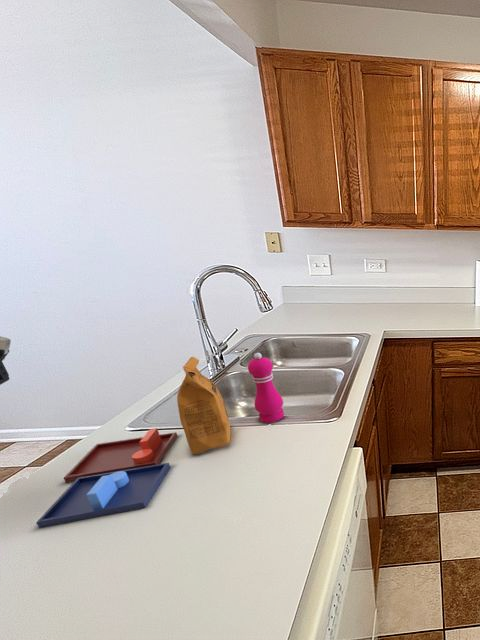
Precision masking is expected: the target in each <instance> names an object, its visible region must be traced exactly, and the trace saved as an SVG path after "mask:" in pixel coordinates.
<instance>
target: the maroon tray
mask: <svg viewBox="0 0 480 640" xmlns="http://www.w3.org/2000/svg"><path fill="white" fill-rule="evenodd" d="M159 435H160V438H161V440H162V442H161V443H160V445H159V446H158V447H157V449H156V450H155V452H154V453H153V454H154V457H155V458H154V459H153V460H152V461H151V462H149V463H143V464H137V465H135V463H134V461H133V459H132V455H133V454H134V453H136V452H138V451H140V450H142V448H141V445H140V443H139V442H140V441H141V439H142V438H143V437H144V436H141V437H135V438H134V437H133V438H128V439H121V440H115V441H109V442H108V441H107V442H100V443H96V444H95V445H94V446H93V447H92V448H91V449H90V450H89V451H88V452H87V453H86V454H85V456H83V457H82V458H81V459H80V461H78V462H77V464H75V465H74V466H73V467H72V468H71V469H70V471H69V472H67V474H66V475H65V476H64V477H63V480H64V483H65V484H67V483H73V482H74V481H75V480H76V479H77V478H80V477H86V476H92V475H98V474H104V473H110V472H116V471H122V470H128V469H134V468H140V467H146V466H152V465H158V464H161V462H162V461H163V460H164V458H165V457H166V455H167V454H168V452H169V450H170V449H171V447H172V445H174V443H175V442H176V440H177V438H179V436H178V433H177V432H176V431H174V432H168V433H161V434H159Z"/></svg>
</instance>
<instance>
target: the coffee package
mask: <svg viewBox="0 0 480 640" xmlns="http://www.w3.org/2000/svg"><path fill="white" fill-rule="evenodd" d="M199 362H200V360H199V358H196V356H191V357H189V359H188V360H187V361H186V363H185V364H184V365H183V366H182V369H183V371H184V374H185V376H184V379H183V381H182V382H181V385H180V386H179V388H178V391H177V396H176V398H177V399H176V400H177V401H176V402H177V408H178V415H179V420H180V424H181V426H182V429H183V432H184V435H185V439H186V441H187V445H188V448H189V451H190V453H191V454H192V455H199V454H200V453H203V452H206V451H208V450H211V449H217V448H221V447H224V446H227V445H228V444H230V442H231V424H230V419H229V414H228V411H227V408H226V404H225V401H224V399H223V396H222V394H221V392H220V390H219V389H218V387H217V385H216V384H215V383H214V382H213V381H212V380H211V379H210V378H208V377H207V376H205V375H203V374H202V373H201V371H200V370H199V369H198V368H197V366H198V365H199Z"/></svg>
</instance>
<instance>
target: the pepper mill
mask: <svg viewBox="0 0 480 640" xmlns="http://www.w3.org/2000/svg"><path fill="white" fill-rule="evenodd" d="M253 357H254V358H252V359H251V360H250V361H249V362H248V364H247V371H248V373H249V374H250V375H251V379H252V382H253V383H254V384H255V386H256V394H255V398H254V409H255V410H256V412H258V417H259V421H260V422H261V423H264V424H271V423H274V422H278V421H280V420H282V418H284V416H285V411H284V409H283V408H282V407H283V406H284V399H283V397H282V395H281V394H280V393H279V391H278V390H277V389H276V387H275V385H274V382H273V378H274V374H273V372H272V371H273V369H274V366H273V365H274V364H273V362H272V360H271V359H270V358H268V357H263V356H262V354H261V353H260V352H256V353H254V355H253Z"/></svg>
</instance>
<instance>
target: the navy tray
mask: <svg viewBox="0 0 480 640" xmlns="http://www.w3.org/2000/svg"><path fill="white" fill-rule="evenodd" d="M170 469H171V466H170V463H169V462H164V463H160V464H158V465H152V466H146V467H140V468H134V469H128V470H122V471H124V472H126V474H127V476H128V478H129V482H128V483H127V484H126V485H125V486H123V487H121V488H118V490H117V491H116V493H115V494H114V495H113V496H112V498H111V499H110V500H109V502H108V503H107V504H106V506H105V507H104V508H102V509H96V510H93V508H92V506H91V504H90V502H89V500H88V498H87V496H86V495H87V493H88V492H89V491H90V490H91V489H92V488H93V486H94V485H95V484H96V483H97V482H98V480H99V479H100V478H101V477H102V476H106V475H110V474H112V473H115V472H110V473H104V474H98V475H92V476H86V477H80V478H77V479H76V480H75V481H74V482H71V485H69V487H67V488H66V489H65V491H63V493H62V494H61V495H60V496H59V497H58V498H57V499H56V501H54V502H53V504H52V505H50V507H49V508H48V509H47V510H46V511H45V512H44V513H43V514H42V516H41V517H40V518H38V520H37V521H36V525H37V527H38V528H39V529H41V528H46V527H52V526H56V525H62V524H67V523H72V522H78V521H83V520H88V519H89V520H90V519H94V518H98V517H104V516H110V515H114V514H120V513H124V512H125V513H126V512H130V511H135V510H140V509H145V508H147V506H148V504H149V503H150V501H151V499H152V498H153V496H154V495H155V493H156V492H157V490H158V488H159V486H160V485H161V483H162V482H163V480H164V479H165V477H166V476H167V474H168V472H169V471H170ZM116 472H120V471H116Z"/></svg>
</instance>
